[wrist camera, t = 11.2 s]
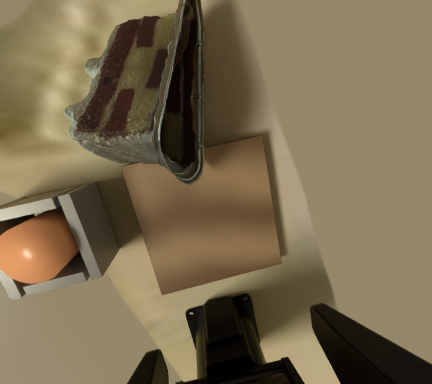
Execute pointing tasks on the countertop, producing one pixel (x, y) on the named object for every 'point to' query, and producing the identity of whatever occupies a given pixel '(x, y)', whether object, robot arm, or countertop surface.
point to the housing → (81, 228)
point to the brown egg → (38, 247)
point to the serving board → (207, 216)
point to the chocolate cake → (148, 94)
